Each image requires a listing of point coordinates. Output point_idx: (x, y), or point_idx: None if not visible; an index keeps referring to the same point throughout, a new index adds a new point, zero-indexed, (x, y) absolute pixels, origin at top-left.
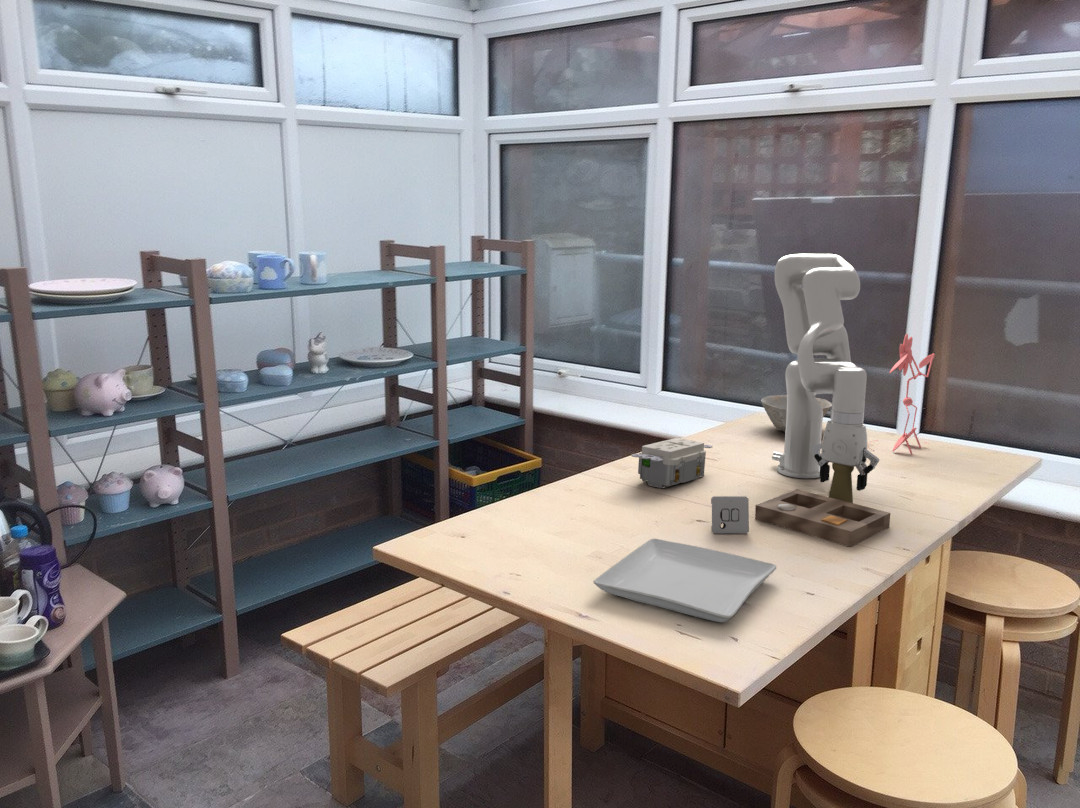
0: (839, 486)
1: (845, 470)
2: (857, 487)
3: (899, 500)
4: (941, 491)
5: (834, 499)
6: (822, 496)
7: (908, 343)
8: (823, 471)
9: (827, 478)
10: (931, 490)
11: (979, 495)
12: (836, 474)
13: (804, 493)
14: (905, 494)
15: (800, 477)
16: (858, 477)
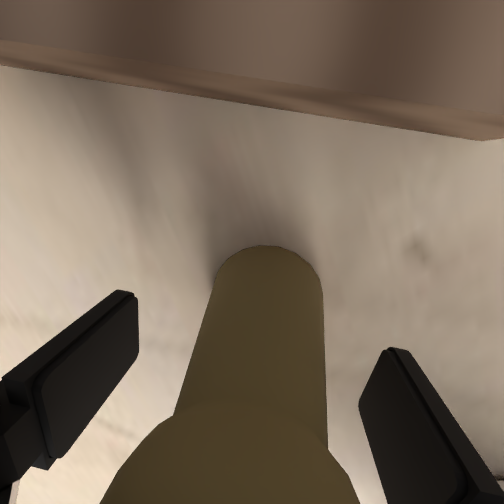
0: (249, 302)
1: (160, 436)
2: (115, 299)
3: (113, 401)
4: (83, 497)
5: (199, 42)
6: (311, 57)
7: None
8: (434, 432)
9: (368, 403)
10: (102, 496)
11: (17, 497)
12: (281, 389)
13: (495, 26)
14: (130, 452)
15: (498, 483)
16: (44, 357)
